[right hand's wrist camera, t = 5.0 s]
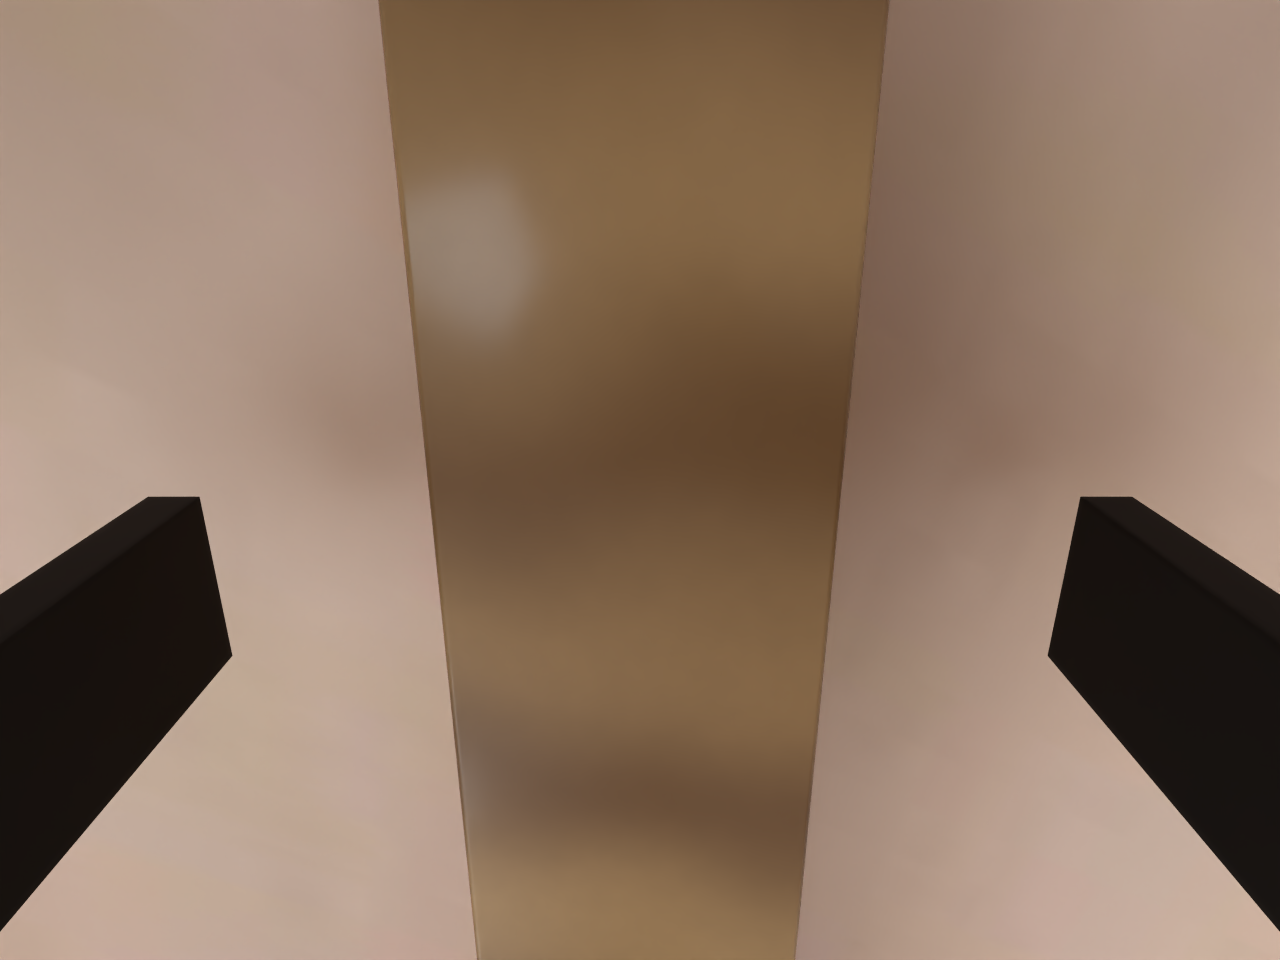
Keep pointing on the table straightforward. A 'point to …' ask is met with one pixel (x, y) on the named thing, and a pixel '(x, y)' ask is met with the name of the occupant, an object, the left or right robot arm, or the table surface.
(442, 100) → the post
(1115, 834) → the table surface
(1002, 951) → the table surface
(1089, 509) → the right robot arm
